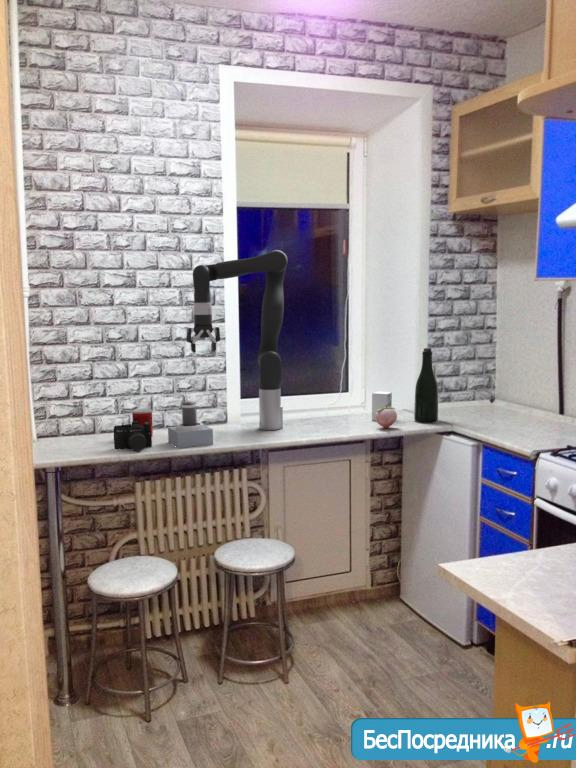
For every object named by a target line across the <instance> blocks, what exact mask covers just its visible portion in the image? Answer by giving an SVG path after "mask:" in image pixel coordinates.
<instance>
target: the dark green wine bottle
mask: <svg viewBox="0 0 576 768" xmlns="http://www.w3.org/2000/svg"><path fill="white" fill-rule="evenodd" d="M421 354H422V357H421V359H422V361H421V369H420V373H419V375H418V378H417V379H416V382H415V388H414V389H415V391H414V410H413V411H414V414H413V420H414V421H415V422H416V423H420V422H421V423H420V424H422V423H423V424H434V423H433V422H435V423H437V422H438V421H439V385H438V381H437V378H436V375H435V372H434V369H433V351H432V348H431V347H425V348H423V351H422V353H421ZM436 421H437V422H436Z"/></svg>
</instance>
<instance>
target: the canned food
mask: <svg viewBox="0 0 576 768" xmlns="http://www.w3.org/2000/svg"><path fill="white" fill-rule="evenodd" d="M131 413H132V414H131V415H132V416H131V417H132V422H134V421H137V422H138V425H139V426H141V425H143V424H144V423H145V422H149V423H150V426H151V434H152V436H153V434H154V432H153V431H154V430H153V409H150V408H138V409H137V408H136V409H133V410H132V412H131Z"/></svg>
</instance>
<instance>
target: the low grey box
mask: <svg viewBox="0 0 576 768" xmlns="http://www.w3.org/2000/svg"><path fill="white" fill-rule="evenodd" d="M167 436H168V437H167V438H168V439H167V440H168V443H169V444H170V443H171V444H170V445H172V444H173V445H174V446H173V445H172V446H173V447H175V446H176V447H175V448H176V449H184V448H183V447H186V448H193V447H192V446H195V447H201V446H200V445H204V446H212V445H214V428H211V427H209V426H208V425H205V424H204V423H203V422H201V421H200V422H199V421H196V426H183V422H179V423H177V424H176V426H168V427H167Z"/></svg>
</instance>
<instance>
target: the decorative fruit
mask: <svg viewBox="0 0 576 768" xmlns="http://www.w3.org/2000/svg"><path fill="white" fill-rule="evenodd" d="M386 406H387V405H386ZM375 417H376V421H375V422H377V424H378V425H379V426H380V427H382V428H384V429H388V428H390V427H392V425H394V424H395V423H396V421H397V418H398V413H397V412H396V408H395V407H393V406H392V407H387V408H380V409H378V411H377V412H376V415H375Z"/></svg>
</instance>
